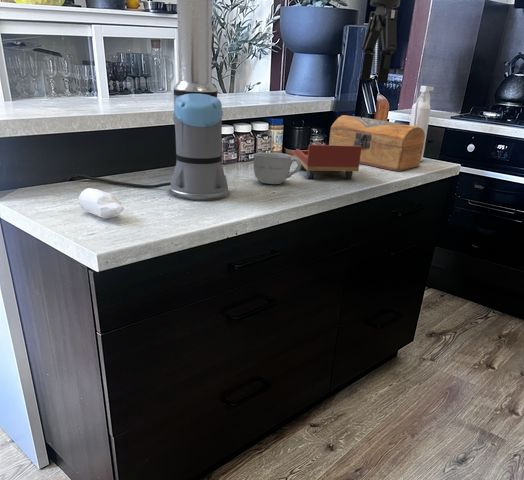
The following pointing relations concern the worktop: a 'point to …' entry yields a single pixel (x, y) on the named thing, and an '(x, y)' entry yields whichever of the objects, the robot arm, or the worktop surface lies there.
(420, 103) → the white spray bottle
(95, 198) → the roll
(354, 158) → the cart
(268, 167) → the teacup
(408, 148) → the wooden box
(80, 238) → the worktop surface
